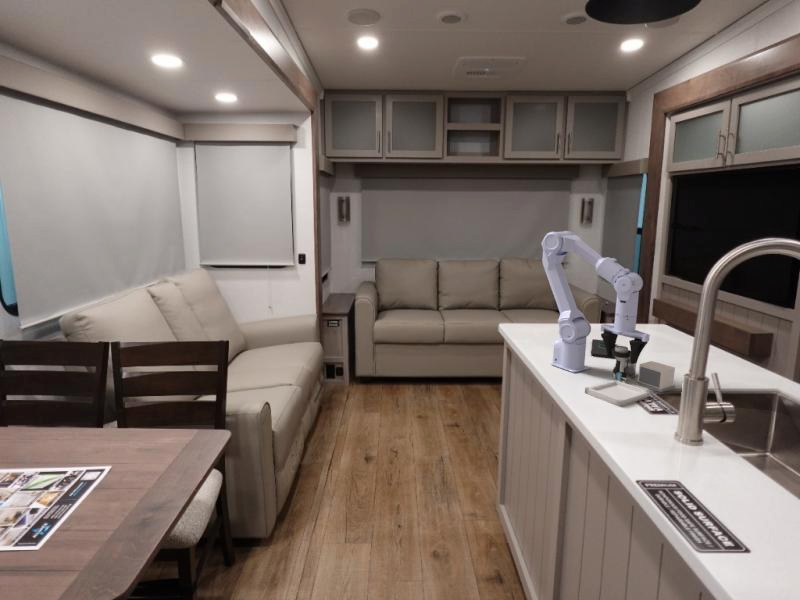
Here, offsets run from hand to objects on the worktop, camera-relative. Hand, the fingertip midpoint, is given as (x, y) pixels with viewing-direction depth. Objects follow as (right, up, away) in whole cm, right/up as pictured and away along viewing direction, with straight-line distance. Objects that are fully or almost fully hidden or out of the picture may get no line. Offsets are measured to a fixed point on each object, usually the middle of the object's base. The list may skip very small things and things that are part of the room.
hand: (621, 359), depth 146 cm
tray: (-6, -9, -10) cm, 15 cm away
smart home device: (+8, -1, +32) cm, 33 cm away
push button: (0, -7, +1) cm, 7 cm away
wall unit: (+8, -7, -3) cm, 11 cm away
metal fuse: (+5, -5, +7) cm, 10 cm away
